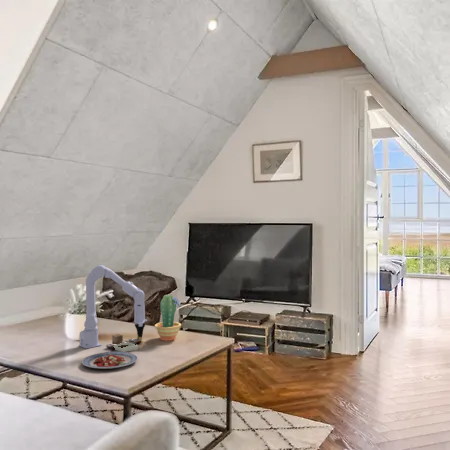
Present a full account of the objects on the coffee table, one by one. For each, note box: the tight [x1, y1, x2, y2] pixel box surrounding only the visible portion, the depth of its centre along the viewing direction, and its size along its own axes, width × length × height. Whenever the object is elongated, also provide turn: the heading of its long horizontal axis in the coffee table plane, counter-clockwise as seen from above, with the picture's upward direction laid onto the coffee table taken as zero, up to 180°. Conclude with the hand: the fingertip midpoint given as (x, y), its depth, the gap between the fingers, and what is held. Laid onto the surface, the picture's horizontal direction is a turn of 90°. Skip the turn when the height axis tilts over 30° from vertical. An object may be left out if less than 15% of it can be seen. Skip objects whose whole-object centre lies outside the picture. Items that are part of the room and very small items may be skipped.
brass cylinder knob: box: [128, 333, 143, 342], centre depth 263 cm, size 8×3×4 cm, turn 130°
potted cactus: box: [154, 294, 182, 342], centre depth 273 cm, size 15×15×25 cm
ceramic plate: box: [81, 351, 138, 370], centre depth 227 cm, size 26×26×3 cm
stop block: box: [111, 333, 124, 344], centre depth 257 cm, size 4×4×6 cm
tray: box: [112, 341, 139, 353], centre depth 250 cm, size 9×9×2 cm
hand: (140, 336), depth 262 cm, fingers closed, pressing on brass cylinder knob
